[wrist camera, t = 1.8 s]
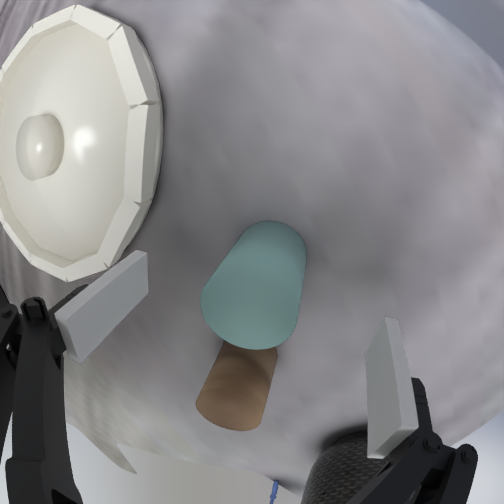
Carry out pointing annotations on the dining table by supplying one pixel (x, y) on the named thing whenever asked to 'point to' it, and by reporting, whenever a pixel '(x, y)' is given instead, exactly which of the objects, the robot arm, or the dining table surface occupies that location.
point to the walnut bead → (237, 387)
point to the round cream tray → (78, 141)
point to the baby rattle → (274, 492)
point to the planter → (342, 471)
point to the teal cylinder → (257, 287)
